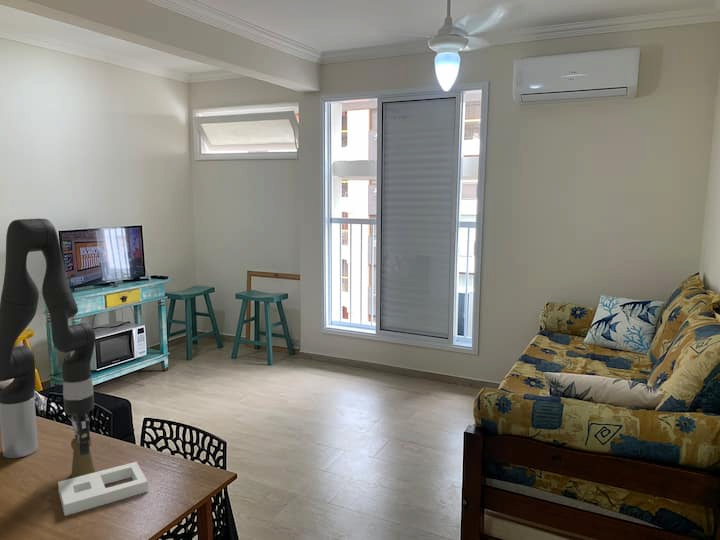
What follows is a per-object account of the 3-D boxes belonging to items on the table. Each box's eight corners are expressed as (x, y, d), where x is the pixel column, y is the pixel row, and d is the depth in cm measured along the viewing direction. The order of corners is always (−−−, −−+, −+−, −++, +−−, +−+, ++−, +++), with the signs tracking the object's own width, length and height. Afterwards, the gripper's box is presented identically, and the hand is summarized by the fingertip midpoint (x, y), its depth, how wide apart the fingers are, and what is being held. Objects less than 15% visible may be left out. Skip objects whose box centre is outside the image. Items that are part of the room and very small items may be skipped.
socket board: (58, 492, 143) (57, 481, 143) (136, 471, 155) (136, 461, 154) (64, 516, 133) (63, 504, 132) (148, 491, 144) (147, 481, 144)
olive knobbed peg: (84, 479, 150) (82, 442, 148) (66, 477, 151) (63, 440, 150) (99, 469, 156) (97, 433, 154) (81, 466, 157) (79, 431, 155)
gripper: (60, 389, 154) (64, 442, 156) (66, 404, 142) (70, 461, 144) (89, 384, 158) (92, 436, 160) (97, 398, 147) (101, 454, 149)
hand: (82, 448), depth 152 cm, fingers open, 8 cm apart
